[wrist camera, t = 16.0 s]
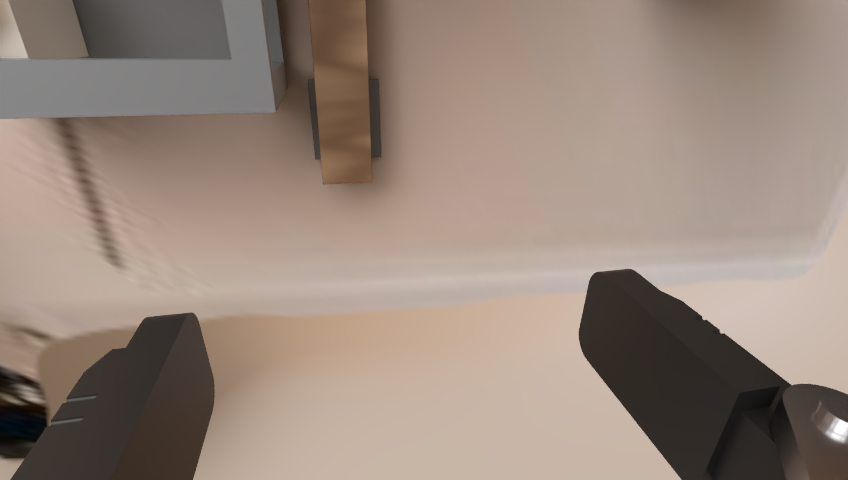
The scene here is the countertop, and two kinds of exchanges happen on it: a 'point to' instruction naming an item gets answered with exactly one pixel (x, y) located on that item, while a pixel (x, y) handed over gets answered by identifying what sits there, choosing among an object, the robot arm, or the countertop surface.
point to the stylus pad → (373, 117)
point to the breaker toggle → (40, 29)
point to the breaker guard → (156, 62)
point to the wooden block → (342, 89)
